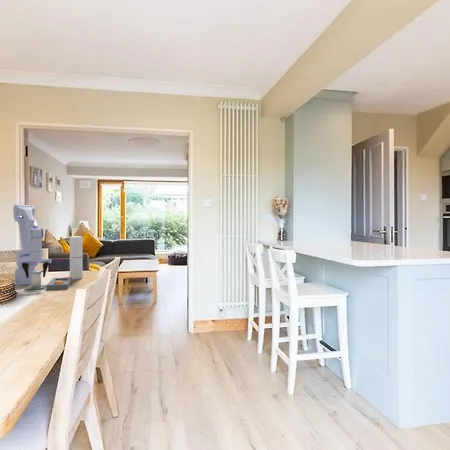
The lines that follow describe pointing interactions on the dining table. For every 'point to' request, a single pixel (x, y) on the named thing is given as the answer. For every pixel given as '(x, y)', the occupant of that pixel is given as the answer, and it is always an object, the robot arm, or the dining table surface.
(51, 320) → the dining table surface
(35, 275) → the cylinder
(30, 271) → the robot arm
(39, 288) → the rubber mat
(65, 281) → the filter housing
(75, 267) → the cylindrical container
